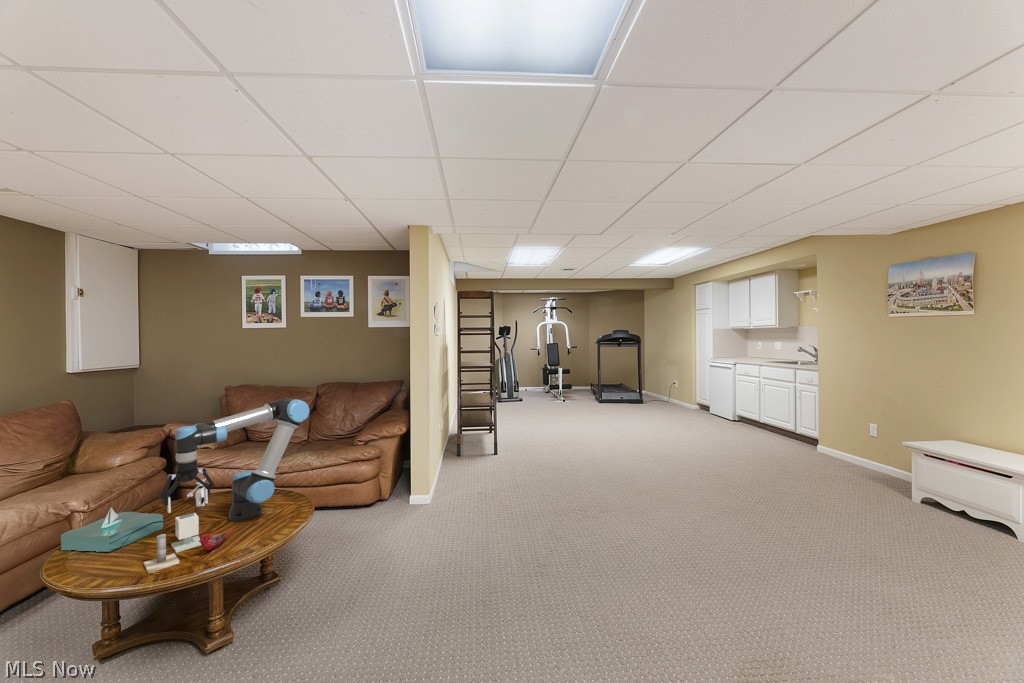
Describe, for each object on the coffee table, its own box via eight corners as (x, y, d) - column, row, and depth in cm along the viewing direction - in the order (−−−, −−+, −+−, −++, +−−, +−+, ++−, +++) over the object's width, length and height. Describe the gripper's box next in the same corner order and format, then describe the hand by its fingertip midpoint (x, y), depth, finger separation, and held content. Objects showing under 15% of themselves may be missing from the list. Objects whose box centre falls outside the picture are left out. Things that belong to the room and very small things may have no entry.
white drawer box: (194, 529, 198) (194, 510, 198) (198, 534, 193) (198, 514, 193) (175, 534, 192) (175, 515, 192) (178, 539, 188) (178, 519, 188)
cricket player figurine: (186, 505, 240) (186, 478, 240) (208, 500, 247) (208, 475, 247) (188, 512, 231) (187, 484, 231) (211, 507, 237) (211, 480, 237)
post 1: (143, 564, 176) (143, 536, 176) (174, 555, 184) (173, 528, 184) (148, 573, 170) (147, 543, 169) (179, 563, 177) (179, 535, 177)
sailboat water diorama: (109, 554, 186) (108, 517, 186) (61, 550, 190) (60, 514, 190) (163, 529, 211) (162, 496, 211) (119, 526, 215) (119, 494, 215)
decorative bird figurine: (195, 560, 180) (195, 536, 180) (231, 540, 197) (231, 519, 197) (201, 560, 179) (201, 537, 179) (237, 541, 196) (236, 519, 196)
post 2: (171, 546, 192) (171, 519, 192) (198, 538, 200) (197, 512, 200) (176, 553, 186) (175, 525, 186) (203, 545, 193) (203, 518, 193)
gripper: (216, 453, 204) (218, 497, 205) (149, 465, 186) (150, 513, 186) (221, 456, 199) (222, 500, 200) (152, 469, 181) (154, 518, 181)
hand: (188, 507), depth 193 cm, fingers open, 13 cm apart
